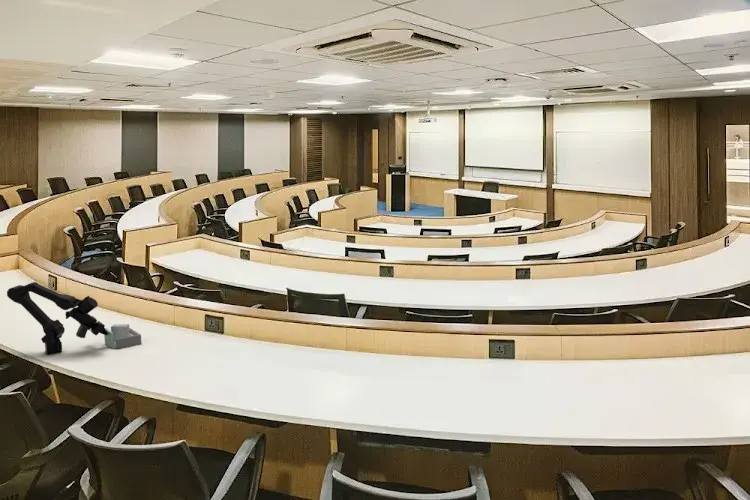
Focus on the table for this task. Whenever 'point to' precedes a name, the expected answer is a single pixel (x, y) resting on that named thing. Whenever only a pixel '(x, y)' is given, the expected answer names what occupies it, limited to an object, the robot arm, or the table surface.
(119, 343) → the dock
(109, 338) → the tray
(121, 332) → the medicine box
